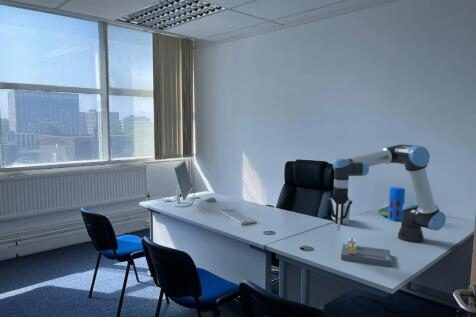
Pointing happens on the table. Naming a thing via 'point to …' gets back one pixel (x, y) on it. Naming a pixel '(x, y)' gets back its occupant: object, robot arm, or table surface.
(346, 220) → the white jerry can
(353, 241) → the fader grey
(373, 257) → the board
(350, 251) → the fader amber
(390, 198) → the thermos
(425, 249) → the table surface
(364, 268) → the table surface
